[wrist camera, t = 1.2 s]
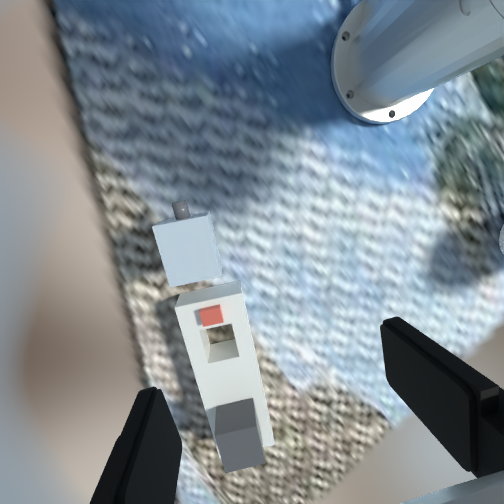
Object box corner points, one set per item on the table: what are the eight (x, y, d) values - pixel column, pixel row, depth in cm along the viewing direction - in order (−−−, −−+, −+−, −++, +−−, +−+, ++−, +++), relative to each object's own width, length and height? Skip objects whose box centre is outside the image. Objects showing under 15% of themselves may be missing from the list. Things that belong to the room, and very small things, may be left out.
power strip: (180, 293, 33) (172, 310, 28) (240, 280, 33) (242, 295, 29) (220, 431, 39) (219, 464, 35) (270, 419, 40) (275, 450, 35)
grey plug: (167, 202, 30) (146, 208, 22) (208, 194, 30) (202, 197, 22) (183, 262, 32) (170, 287, 24) (222, 254, 32) (221, 276, 24)
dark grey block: (217, 383, 37) (214, 436, 29) (250, 375, 37) (256, 426, 29) (227, 422, 39) (228, 482, 31) (259, 415, 39) (267, 472, 31)
